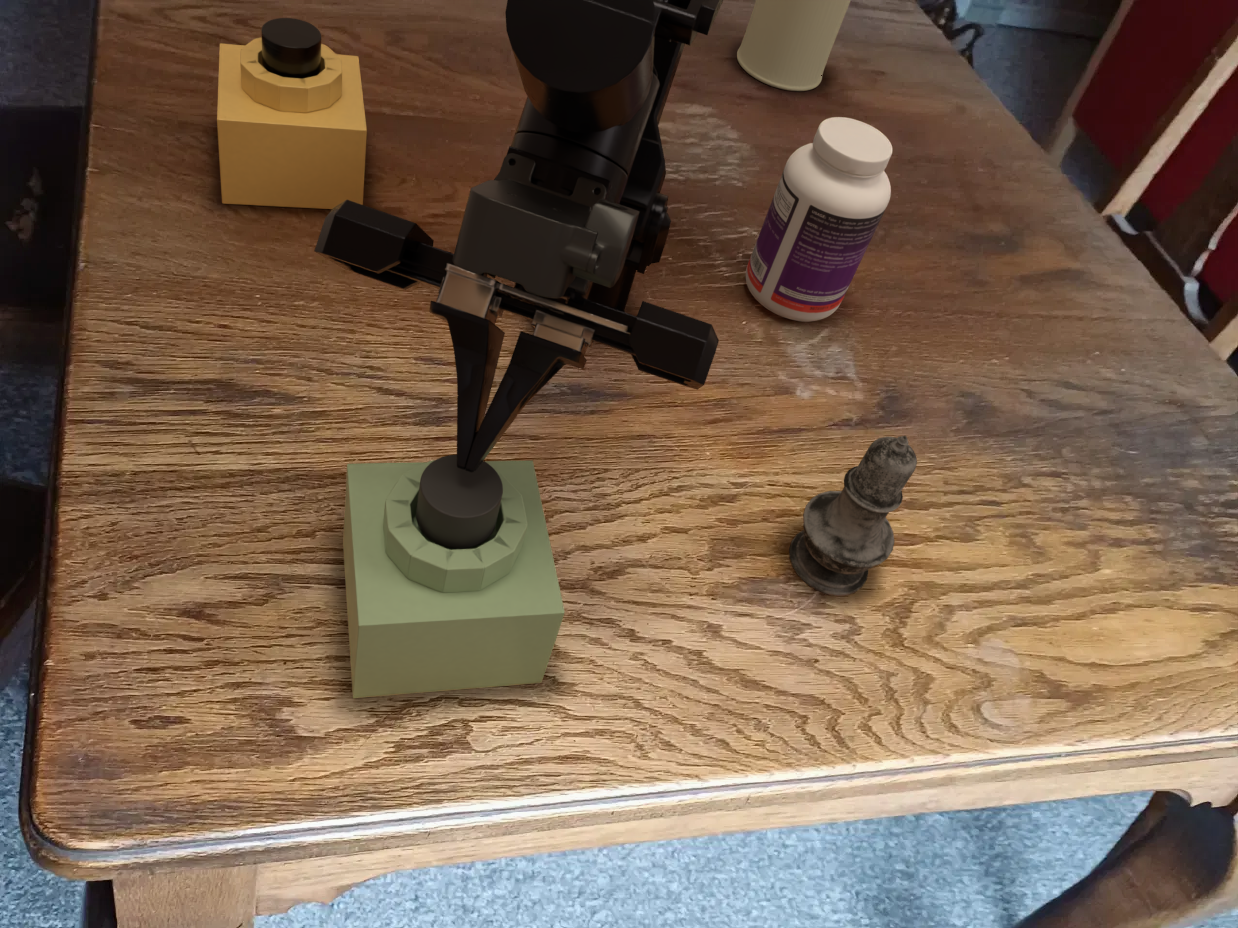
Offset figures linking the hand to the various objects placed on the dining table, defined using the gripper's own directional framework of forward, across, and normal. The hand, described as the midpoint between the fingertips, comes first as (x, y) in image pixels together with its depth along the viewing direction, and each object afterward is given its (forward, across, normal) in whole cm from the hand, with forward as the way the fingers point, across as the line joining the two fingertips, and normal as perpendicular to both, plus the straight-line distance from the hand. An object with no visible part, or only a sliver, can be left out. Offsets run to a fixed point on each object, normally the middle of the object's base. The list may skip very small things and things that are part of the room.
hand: (465, 469), depth 51 cm
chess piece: (0, +22, +18) cm, 28 cm away
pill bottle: (-19, +15, +36) cm, 43 cm away
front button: (+3, 0, +2) cm, 4 cm away
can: (-45, +9, +62) cm, 77 cm away
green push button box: (+9, 0, +8) cm, 12 cm away
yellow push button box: (-15, -25, +32) cm, 43 cm away
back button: (-21, -25, +26) cm, 42 cm away
